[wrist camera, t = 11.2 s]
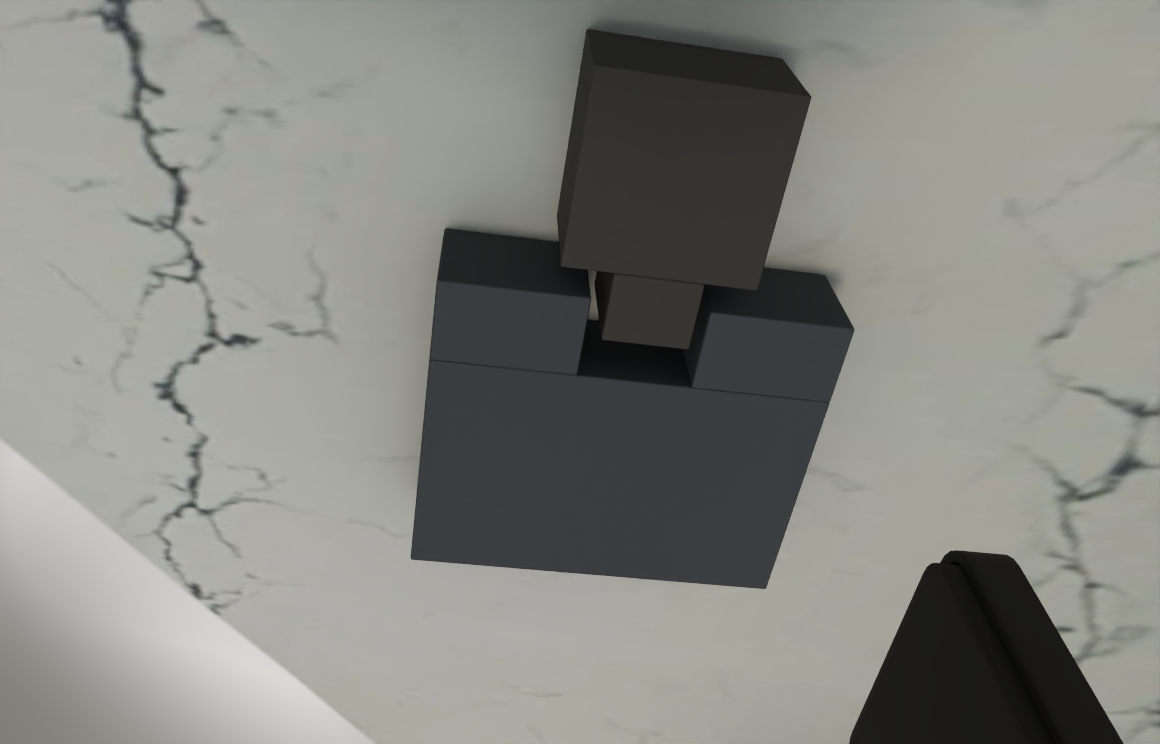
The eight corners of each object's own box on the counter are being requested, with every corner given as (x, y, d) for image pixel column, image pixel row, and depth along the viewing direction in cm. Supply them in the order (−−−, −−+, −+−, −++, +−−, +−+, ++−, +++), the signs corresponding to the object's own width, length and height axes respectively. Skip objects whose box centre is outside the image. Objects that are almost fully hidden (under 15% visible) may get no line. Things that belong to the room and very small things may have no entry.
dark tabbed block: (586, 28, 33) (593, 64, 30) (782, 58, 34) (812, 96, 30) (546, 278, 38) (549, 334, 34) (719, 299, 38) (739, 356, 35)
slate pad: (444, 228, 36) (436, 280, 33) (825, 275, 38) (855, 329, 35) (419, 493, 43) (410, 560, 39) (747, 523, 44) (766, 589, 41)
